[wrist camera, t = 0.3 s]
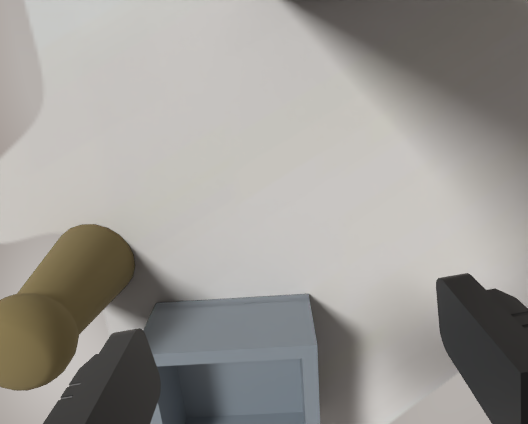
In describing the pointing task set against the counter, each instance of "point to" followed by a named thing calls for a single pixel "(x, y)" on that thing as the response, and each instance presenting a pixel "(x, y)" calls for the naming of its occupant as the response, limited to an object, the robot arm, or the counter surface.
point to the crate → (236, 361)
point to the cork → (60, 304)
